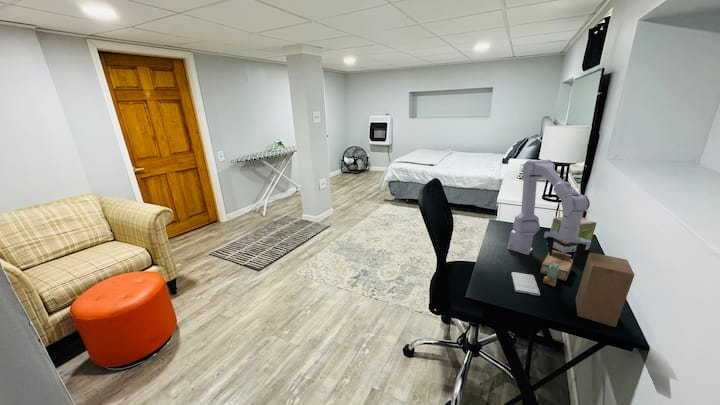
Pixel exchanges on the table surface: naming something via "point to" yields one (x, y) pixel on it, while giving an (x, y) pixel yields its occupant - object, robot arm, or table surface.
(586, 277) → the wooden block
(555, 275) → the teal stepped block
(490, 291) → the table surface
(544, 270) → the tan shallow box
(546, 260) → the lid
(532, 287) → the external hard drive
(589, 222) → the tea box
